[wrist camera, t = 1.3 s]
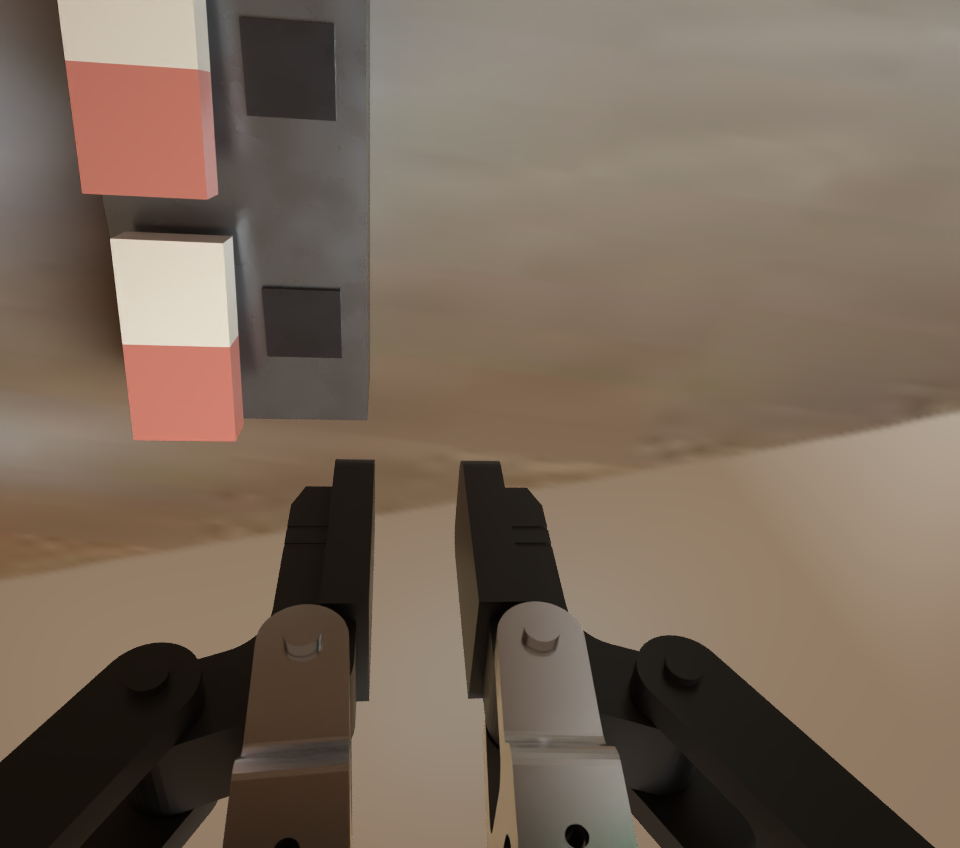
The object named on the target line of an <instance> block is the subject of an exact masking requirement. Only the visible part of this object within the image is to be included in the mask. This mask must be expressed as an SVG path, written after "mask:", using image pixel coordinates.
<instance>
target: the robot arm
mask: <svg viewBox="0 0 960 848" xmlns="http://www.w3.org/2000/svg"><path fill="white" fill-rule="evenodd" d="M374 525H375V460H349V459H336V461H335V468H334V477H333V486H332V487H313V486H306V487H305V488H304V490H303V491H302V492H301V493H300V495H299V496H298V497H297V498H296V500H295V501H294V502H293V503H292V504H291V509H290V514H289V520H288V526H287V527H288V528H287V531H286V537H285V546H284V549H283V554H282V560H281V567H280V572H279V577H278V583H277V589H276V594H275V600H274V606H273V611H272V615H271V617H270V618H268V619H267V620H266V621H265V623H264V624H263V625H262V626H261V628H260V629H259V631H258V634H257V635H256V636H255V637H254V638H252V639H251V640H250V641H248V642H246V643H245V644H243V645H241V646H239V647H237V648H234V649H231V650H228V651H225V652H222V653H219V654H215V655H211V656H208V657H204V658H201V659H197V658H196V656H195V655H194V654H193V653H192V652H191V651H190V650H188V649H187V648H185V647H182V646H180V645H177V644H172V643H151V644H146V645H143V646H139V647H136V648H134V649H132V650H130V651H128V652H126V653H124V654H122V655H121V656H119V657H118V658H117V659H115V660H114V661H113V662H112V663H110V664H109V665H108V666H107V667H106V668H105V669H104V670H103V671H102V672H100V673H99V674H98V675H97V676H96V677H95V678H94V679H93V680H91V681H90V682H89V683H88V684H87V685H86V686H85V687H84V688H83V689H81V690H80V691H79V692H78V693H77V694H76V695H75V696H74V697H73V698H72V699H70V700H69V701H68V702H67V703H66V704H65V705H64V706H62V707H61V709H59V710H58V711H57V712H56V713H55V714H54V715H53V716H51V717H50V718H49V719H48V720H47V721H46V722H45V723H44V724H42V725H41V726H40V727H39V728H38V729H37V730H36V731H35V732H33V733H32V734H31V735H30V736H29V737H28V738H27V739H26V740H25V741H23V742H22V743H21V744H20V745H19V746H18V747H17V748H16V749H15V750H13V751H12V752H11V753H10V754H9V755H8V756H7V757H6V758H5V759H3V760H2V761H1V762H0V848H182V847H183V845H184V844H185V843H186V842H187V841H188V839H189V838H190V837H191V836H192V834H193V833H194V832H195V831H196V829H197V828H198V827H199V826H200V824H201V823H202V822H203V821H204V819H205V818H206V817H207V816H208V815H209V813H210V812H211V811H212V809H213V808H214V806H215V805H216V803H217V801H218V800H219V799H222V798H225V797H228V796H229V800H228V808H227V816H226V824H225V832H224V839H223V848H352V763H351V762H352V754H351V753H352V752H351V739H352V736H353V733H354V728H355V717H356V701H369V686H370V657H371V627H372V599H373V570H374V569H373V567H374V530H375V527H374ZM455 558H456V569H457V580H458V591H459V602H460V613H461V625H462V636H463V647H464V657H465V669H466V680H467V690H468V698H469V699H471V698H483V701H484V710H485V724H484V732H483V756H484V780H485V805H486V828H487V848H638V845H637V840H636V835H635V830H634V825H633V820H632V815H631V813H632V814H633V815H634V817H635V818H636V819H637V820H638V821H639V822H640V824H641V825H642V826H643V827H644V828H645V829H646V831H647V832H648V833H649V834H650V835H651V836H652V838H653V839H655V841H656V842H657V843H658V844H659V846H660V847H661V848H935V847H933V846H932V845H931V844H930V843H929V842H928V841H927V840H925V839H924V838H923V837H922V836H921V835H920V834H919V833H917V832H916V831H915V830H914V829H913V828H912V827H911V826H910V825H908V824H907V823H906V822H905V821H904V820H903V819H901V818H900V817H899V816H898V815H897V814H896V813H895V812H894V811H892V810H891V809H890V808H889V807H888V806H887V805H886V804H884V803H883V802H882V801H881V800H880V799H879V798H878V797H877V796H875V795H874V794H873V793H872V792H871V791H870V790H869V789H867V788H866V787H865V786H864V785H863V784H862V783H861V782H859V781H858V780H857V779H856V778H855V777H854V776H853V775H851V774H850V773H849V772H848V771H847V770H846V769H845V768H844V767H842V766H841V765H840V764H839V763H838V762H837V761H835V760H834V759H833V758H832V757H831V756H830V755H829V754H828V753H826V752H825V751H824V750H823V749H822V748H821V747H820V746H819V745H817V744H816V743H815V742H814V741H813V740H812V739H811V738H809V737H808V736H807V735H806V734H805V733H804V732H803V731H801V730H800V729H799V728H798V727H797V726H796V725H795V724H793V723H792V722H791V721H790V720H789V719H788V718H787V717H785V716H784V715H783V714H782V713H781V712H780V711H779V710H778V709H776V708H775V707H774V706H773V705H772V704H771V703H770V702H768V701H767V700H766V699H765V698H764V697H763V696H761V695H760V694H759V693H758V692H757V691H756V690H755V689H754V688H753V687H751V686H750V685H749V684H748V683H747V682H746V681H745V680H743V679H742V678H741V677H740V676H739V675H737V673H735V672H734V671H733V670H732V669H731V668H730V667H729V666H727V665H726V664H725V663H724V662H723V661H722V660H721V659H720V658H718V657H717V656H716V655H715V654H714V653H713V652H711V651H710V650H709V649H708V648H706V647H705V646H703V645H702V644H700V643H698V642H696V641H694V640H691V639H688V638H685V637H680V636H670V635H667V636H660V637H656V638H653V639H651V640H649V641H648V642H647V643H645V644H644V645H643V646H642V648H641V649H640V651H636V650H632V649H627V648H624V647H620V646H616V645H612V644H609V643H606V642H602V641H600V640H598V639H596V638H594V637H592V636H591V635H589V634H587V633H586V632H585V631H584V630H583V629H582V627H581V625H580V624H579V622H578V621H577V620H576V619H575V618H574V617H573V616H572V615H571V614H570V613H569V612H568V610H567V607H566V603H565V599H564V596H563V591H562V587H561V583H560V578H559V575H558V570H557V566H556V562H555V558H554V554H553V549H552V547H551V541H550V537H549V533H548V530H547V524H546V521H545V516H544V512H543V508H542V505H541V504H540V503H539V502H538V500H537V499H536V498H535V497H534V496H533V495H532V493H531V492H530V491H529V490H528V489H527V488H505V486H504V480H503V475H502V469H501V464H500V462H499V461H461V463H460V470H459V482H458V494H457V507H456V520H455Z"/></svg>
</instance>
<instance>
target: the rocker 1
mask: <svg viewBox="0 0 960 848" xmlns="http://www.w3.org/2000/svg"><path fill="white" fill-rule="evenodd" d="M57 2H58V9H59V17H60V25H61V33H62V41H63V48H64V56H65V64H66V72H67V79H68V87H69V95H70V103H71V111H72V118H73V126H74V134H75V142H76V149H77V157H78V165H79V173H80V181H81V188H82V194H101V195H121V196H142V197H162V198H183V199H204V200H208V199H210V198H212V197H214V196H216V195H218V181H217V165H216V150H215V135H214V119H213V104H212V89H211V73H210V58H209V42H208V27H207V12H206V0H57Z"/></svg>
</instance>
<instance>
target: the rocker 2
mask: <svg viewBox="0 0 960 848" xmlns="http://www.w3.org/2000/svg"><path fill="white" fill-rule="evenodd" d="M110 243H111V252H112V260H113V269H114V277H115V286H116V294H117V303H118V311H119V319H120V328H121V336H122V345H123V353H124V362H125V370H126V379H127V387H128V396H129V404H130V413H131V421H132V430H133V438H134V440H162V441H236V440H237V438H238V436H239V434H240V432H241V430H242V428H243V425H244V420H243V403H242V386H241V369H240V353H239V336H238V319H237V302H236V286H235V269H234V252H233V236H219V235H196V234H173V233H150V232H127V231H126V232H123V233H121V234H119V235H117V236H115V237H112V238H110Z"/></svg>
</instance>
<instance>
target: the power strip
mask: <svg viewBox="0 0 960 848" xmlns="http://www.w3.org/2000/svg"><path fill="white" fill-rule="evenodd" d="M206 12H207V27H208V42H209V58H210V73H211V89H212V104H213V119H214V135H215V150H216V165H217V181H218V195H216V196H214V197H212V198H210V199H208V200H204V199H183V198H162V197H142V196H121V195H102V199H103V204H104V210H105V215H106V220H107V225H108V230H109V235H110V238H112V237H115V236H117V235H119V234H121V233H123V232H126V231H127V232H150V233H173V234H196V235H219V236H233V252H234V269H235V286H236V302H237V319H238V336H239V353H240V369H241V386H242V403H243V418H258V419H320V420H367V416H368V398H369V380H370V0H206Z"/></svg>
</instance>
